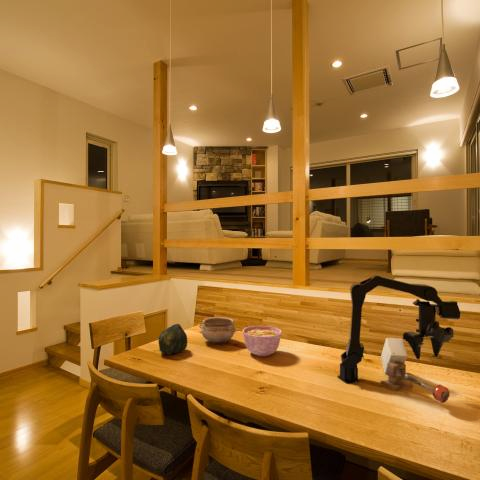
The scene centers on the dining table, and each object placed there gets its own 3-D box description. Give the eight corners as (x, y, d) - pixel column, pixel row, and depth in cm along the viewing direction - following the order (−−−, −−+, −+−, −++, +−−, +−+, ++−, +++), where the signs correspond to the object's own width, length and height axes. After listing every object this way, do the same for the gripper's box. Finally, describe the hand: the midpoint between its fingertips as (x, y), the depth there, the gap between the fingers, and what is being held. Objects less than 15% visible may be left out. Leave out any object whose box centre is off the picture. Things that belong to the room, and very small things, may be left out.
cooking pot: (244, 340, 175) (244, 319, 176) (231, 350, 158) (231, 327, 158) (206, 335, 185) (207, 315, 185) (190, 344, 168) (190, 322, 168)
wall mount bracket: (392, 390, 116) (392, 368, 116) (380, 383, 122) (380, 362, 122) (412, 386, 119) (412, 365, 119) (400, 380, 125) (400, 359, 125)
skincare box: (400, 375, 130) (408, 357, 119) (383, 374, 131) (390, 356, 121) (395, 356, 136) (403, 337, 126) (379, 355, 137) (386, 337, 127)
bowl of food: (288, 351, 157) (288, 329, 157) (270, 364, 140) (270, 339, 140) (254, 344, 168) (254, 323, 168) (234, 355, 151) (234, 332, 151)
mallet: (439, 404, 100) (439, 388, 100) (399, 383, 116) (399, 369, 116) (451, 402, 102) (451, 386, 102) (410, 381, 117) (410, 367, 117)
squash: (147, 343, 153) (164, 322, 150) (165, 336, 167) (181, 317, 163) (164, 365, 148) (182, 344, 145) (181, 356, 162) (198, 337, 159)
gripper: (427, 324, 107) (427, 368, 107) (465, 320, 113) (465, 362, 113) (401, 317, 118) (401, 357, 118) (437, 314, 124) (437, 352, 123)
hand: (427, 357), depth 118 cm, fingers open, 9 cm apart
